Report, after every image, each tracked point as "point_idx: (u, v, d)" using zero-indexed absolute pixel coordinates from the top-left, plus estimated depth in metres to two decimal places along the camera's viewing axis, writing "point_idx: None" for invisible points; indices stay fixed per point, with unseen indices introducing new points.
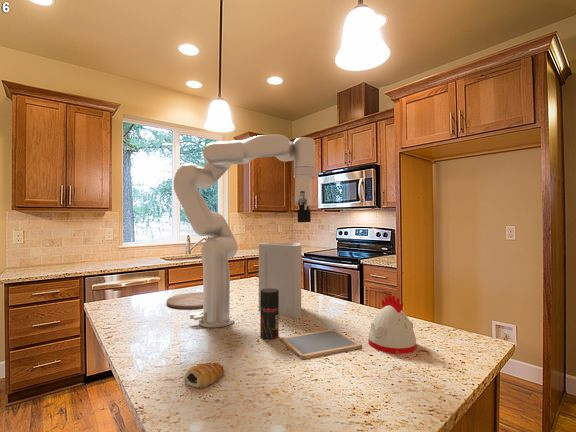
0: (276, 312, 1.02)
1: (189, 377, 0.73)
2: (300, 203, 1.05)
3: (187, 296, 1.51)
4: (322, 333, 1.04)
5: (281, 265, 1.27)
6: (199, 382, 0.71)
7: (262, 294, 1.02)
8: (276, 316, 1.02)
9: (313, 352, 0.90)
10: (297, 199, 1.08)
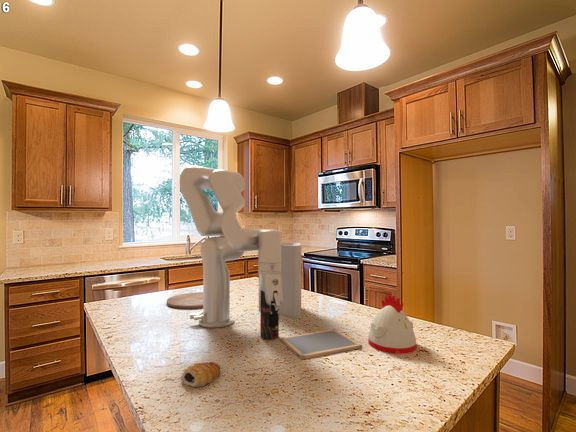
0: None
1: (186, 377, 0.74)
2: None
3: (187, 296, 1.51)
4: (322, 333, 1.04)
5: (281, 265, 1.27)
6: (196, 381, 0.72)
7: (262, 294, 1.02)
8: None
9: (313, 352, 0.90)
10: None
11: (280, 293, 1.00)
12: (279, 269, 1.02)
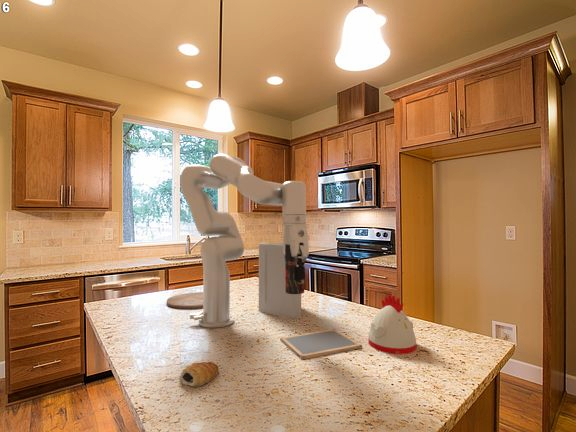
0: None
1: (185, 376, 0.74)
2: None
3: (187, 296, 1.51)
4: (322, 333, 1.04)
5: (281, 265, 1.27)
6: (195, 381, 0.72)
7: (287, 247, 0.98)
8: None
9: (313, 352, 0.90)
10: None
11: (306, 245, 0.96)
12: (304, 221, 0.99)
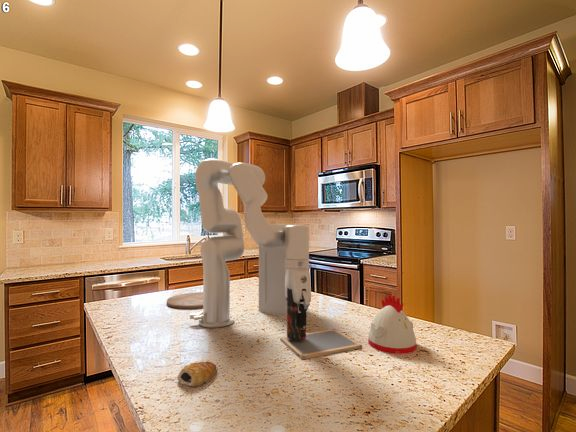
0: None
1: (183, 376, 0.74)
2: None
3: (187, 296, 1.51)
4: (322, 333, 1.04)
5: (281, 265, 1.27)
6: (193, 381, 0.72)
7: (289, 292, 0.97)
8: None
9: (313, 352, 0.90)
10: None
11: (309, 291, 0.95)
12: (307, 266, 0.97)
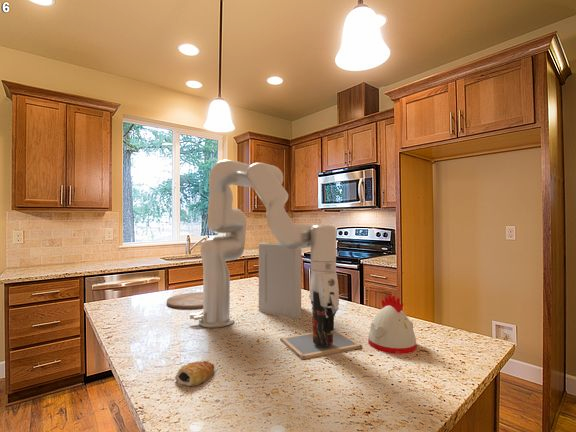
0: None
1: (181, 376, 0.74)
2: None
3: (187, 296, 1.51)
4: None
5: (281, 265, 1.27)
6: (191, 380, 0.72)
7: (316, 295, 0.93)
8: None
9: (313, 352, 0.90)
10: None
11: (337, 295, 0.91)
12: (334, 268, 0.93)
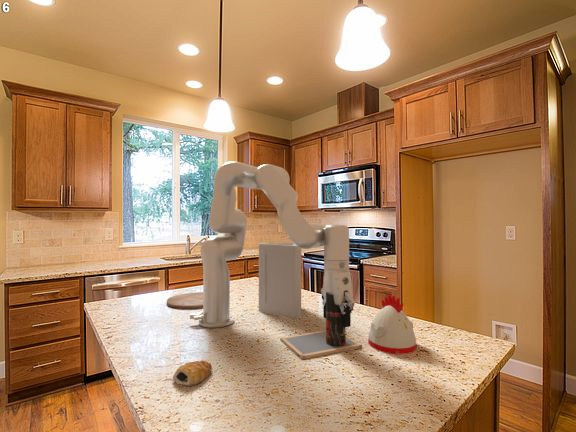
0: None
1: (179, 376, 0.74)
2: None
3: (187, 296, 1.51)
4: (322, 333, 1.04)
5: (281, 265, 1.27)
6: (189, 380, 0.72)
7: (329, 297, 0.95)
8: None
9: (313, 352, 0.90)
10: None
11: (350, 293, 0.93)
12: (348, 267, 0.95)
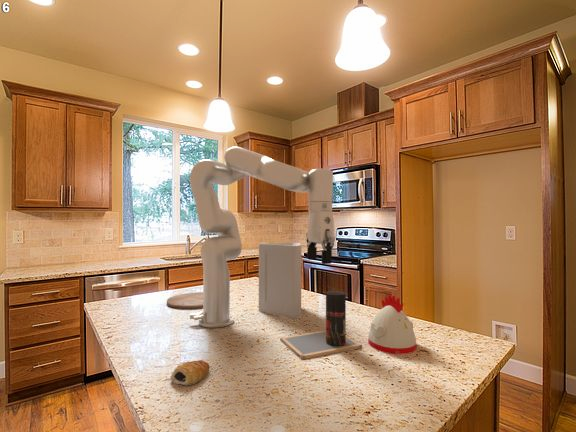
0: (344, 316, 0.95)
1: (177, 376, 0.74)
2: None
3: (187, 296, 1.51)
4: (322, 333, 1.04)
5: (281, 265, 1.27)
6: (187, 380, 0.72)
7: (329, 297, 0.95)
8: (344, 321, 0.95)
9: (313, 352, 0.90)
10: None
11: (332, 232, 0.98)
12: (331, 209, 1.00)
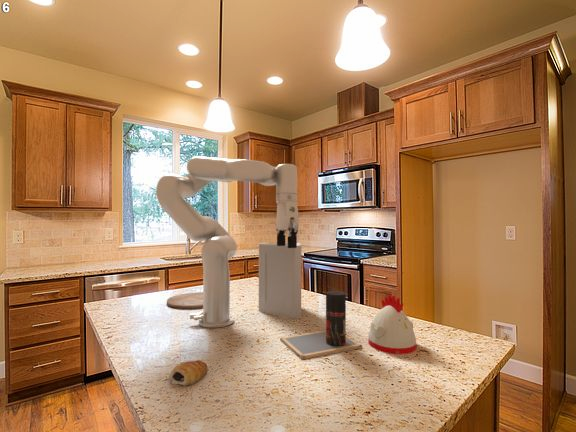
0: (344, 316, 0.95)
1: (175, 376, 0.74)
2: None
3: (187, 296, 1.51)
4: (322, 333, 1.04)
5: (281, 265, 1.27)
6: (186, 380, 0.73)
7: (329, 297, 0.95)
8: (344, 321, 0.95)
9: (313, 352, 0.90)
10: None
11: (296, 220, 1.10)
12: (295, 199, 1.13)
